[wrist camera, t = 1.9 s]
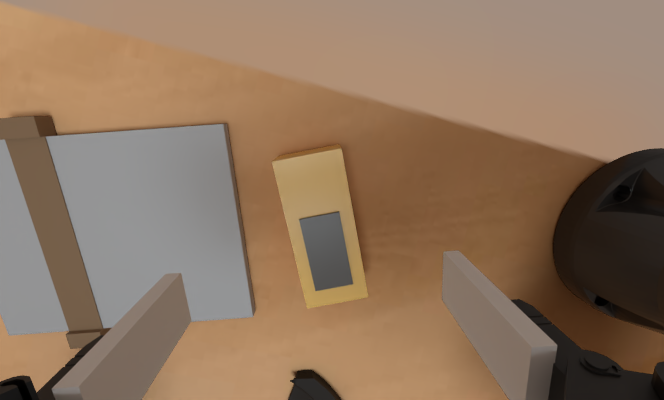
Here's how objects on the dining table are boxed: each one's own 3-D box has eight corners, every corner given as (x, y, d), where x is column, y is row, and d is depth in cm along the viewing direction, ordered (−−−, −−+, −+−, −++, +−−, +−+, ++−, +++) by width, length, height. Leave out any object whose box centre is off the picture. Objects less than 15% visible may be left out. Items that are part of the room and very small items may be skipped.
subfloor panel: (224, 104, 24) (217, 103, 22) (257, 324, 29) (254, 334, 27) (-59, 124, 24) (-84, 124, 22) (24, 341, 29) (8, 353, 27)
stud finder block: (338, 143, 25) (341, 148, 21) (362, 273, 28) (368, 298, 24) (279, 155, 25) (271, 162, 21) (309, 282, 28) (306, 310, 24)
